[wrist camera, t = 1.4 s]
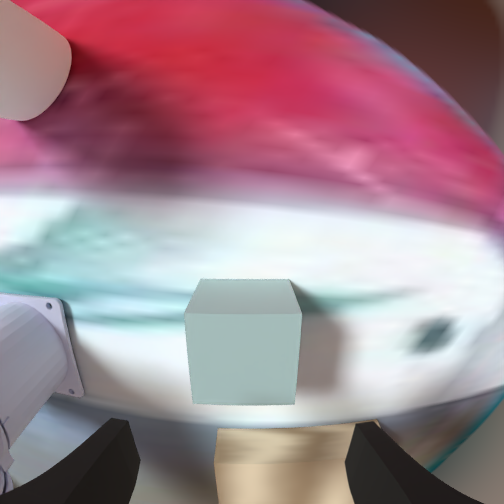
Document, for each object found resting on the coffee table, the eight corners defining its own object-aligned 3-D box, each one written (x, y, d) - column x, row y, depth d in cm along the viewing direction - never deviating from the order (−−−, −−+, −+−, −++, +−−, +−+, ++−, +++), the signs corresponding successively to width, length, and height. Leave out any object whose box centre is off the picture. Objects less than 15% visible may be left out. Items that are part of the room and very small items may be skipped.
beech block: (225, 503, 24) (223, 534, 20) (218, 424, 21) (213, 463, 17) (346, 496, 24) (354, 525, 20) (375, 415, 21) (391, 449, 17)
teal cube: (204, 354, 19) (193, 403, 14) (200, 278, 18) (184, 313, 13) (285, 354, 19) (294, 404, 14) (288, 278, 18) (302, 313, 13)
